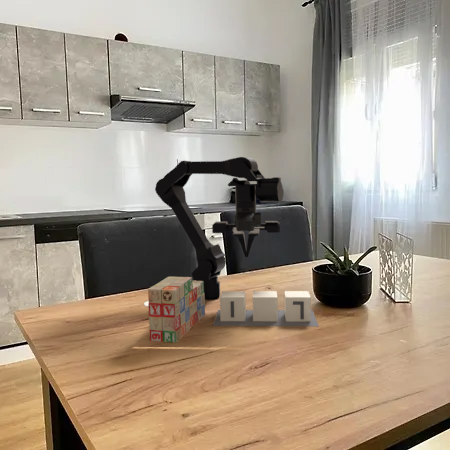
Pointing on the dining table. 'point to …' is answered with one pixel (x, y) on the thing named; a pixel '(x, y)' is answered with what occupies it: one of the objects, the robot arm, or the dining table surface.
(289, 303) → the digit block 7
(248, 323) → the tap mat
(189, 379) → the dining table surface
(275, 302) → the blank block
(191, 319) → the stack of blocks
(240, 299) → the digit block 1
